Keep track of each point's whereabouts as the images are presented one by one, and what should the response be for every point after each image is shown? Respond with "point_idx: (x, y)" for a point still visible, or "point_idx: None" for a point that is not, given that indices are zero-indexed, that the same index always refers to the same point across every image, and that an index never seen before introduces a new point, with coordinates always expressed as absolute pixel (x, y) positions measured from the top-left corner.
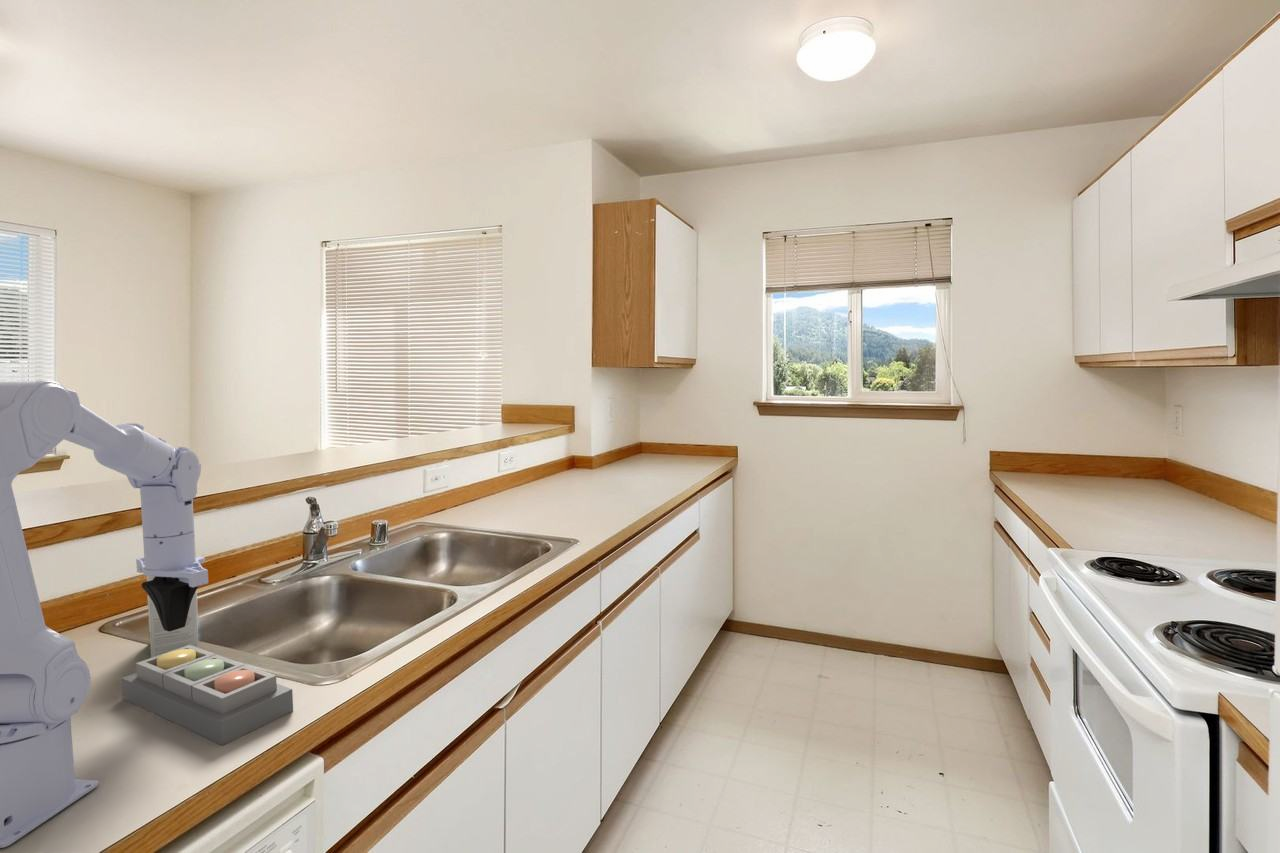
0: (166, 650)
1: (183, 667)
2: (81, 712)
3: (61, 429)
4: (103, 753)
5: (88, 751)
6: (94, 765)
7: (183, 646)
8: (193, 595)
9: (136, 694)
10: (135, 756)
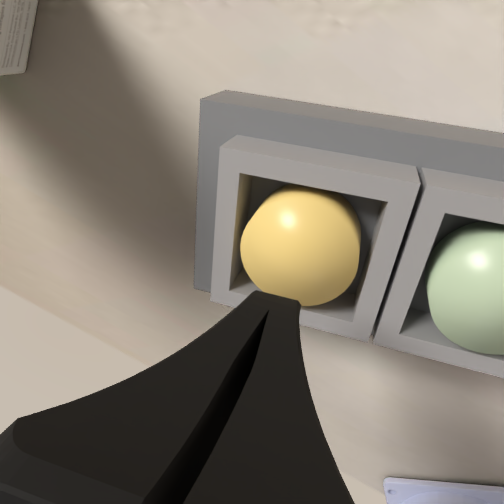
0: (20, 37)
1: (397, 299)
2: (200, 315)
3: None
4: (414, 415)
5: (376, 412)
6: (438, 442)
7: None
8: (320, 430)
9: None
10: (497, 420)
